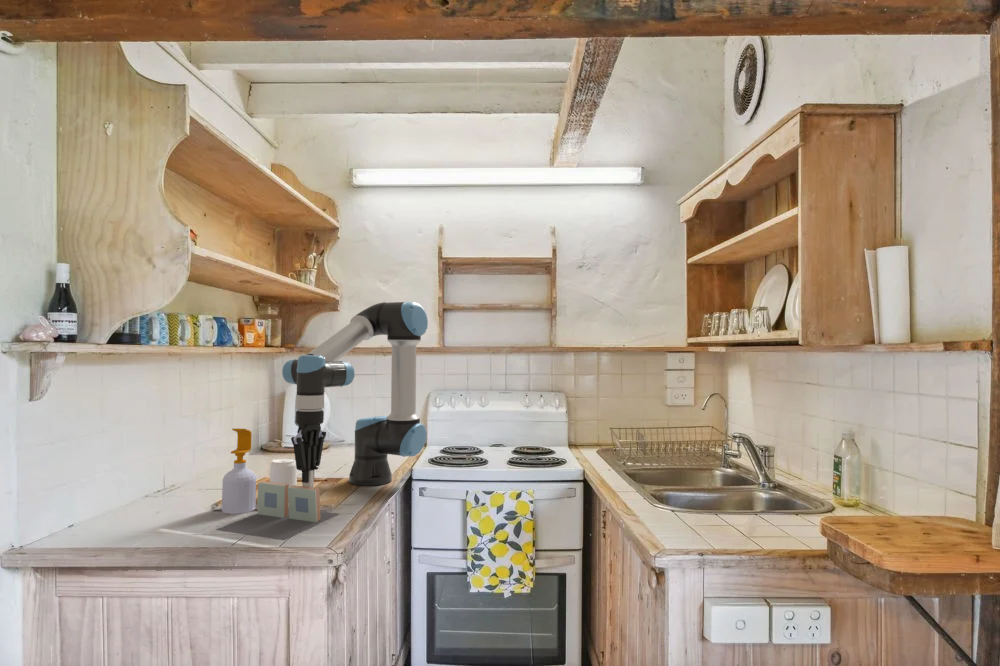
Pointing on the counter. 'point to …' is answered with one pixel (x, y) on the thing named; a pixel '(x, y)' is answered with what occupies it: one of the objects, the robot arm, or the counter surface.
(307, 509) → the tile
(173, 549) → the counter surface
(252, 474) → the soap bottle
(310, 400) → the robot arm
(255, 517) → the mat
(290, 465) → the beverage can
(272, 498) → the tile
